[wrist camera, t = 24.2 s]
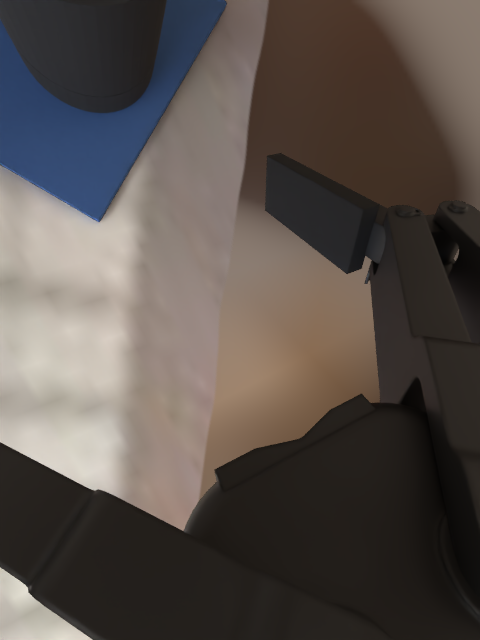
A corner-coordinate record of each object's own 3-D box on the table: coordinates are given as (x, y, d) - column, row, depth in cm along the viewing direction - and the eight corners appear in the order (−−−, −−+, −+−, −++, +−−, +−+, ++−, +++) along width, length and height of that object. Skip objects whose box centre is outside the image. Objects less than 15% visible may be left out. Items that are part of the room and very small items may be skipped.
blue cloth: (-87, 113, 20) (-93, 108, 19) (76, -132, 22) (75, -143, 21) (99, 222, 24) (98, 221, 23) (225, 8, 26) (227, 2, 25)
